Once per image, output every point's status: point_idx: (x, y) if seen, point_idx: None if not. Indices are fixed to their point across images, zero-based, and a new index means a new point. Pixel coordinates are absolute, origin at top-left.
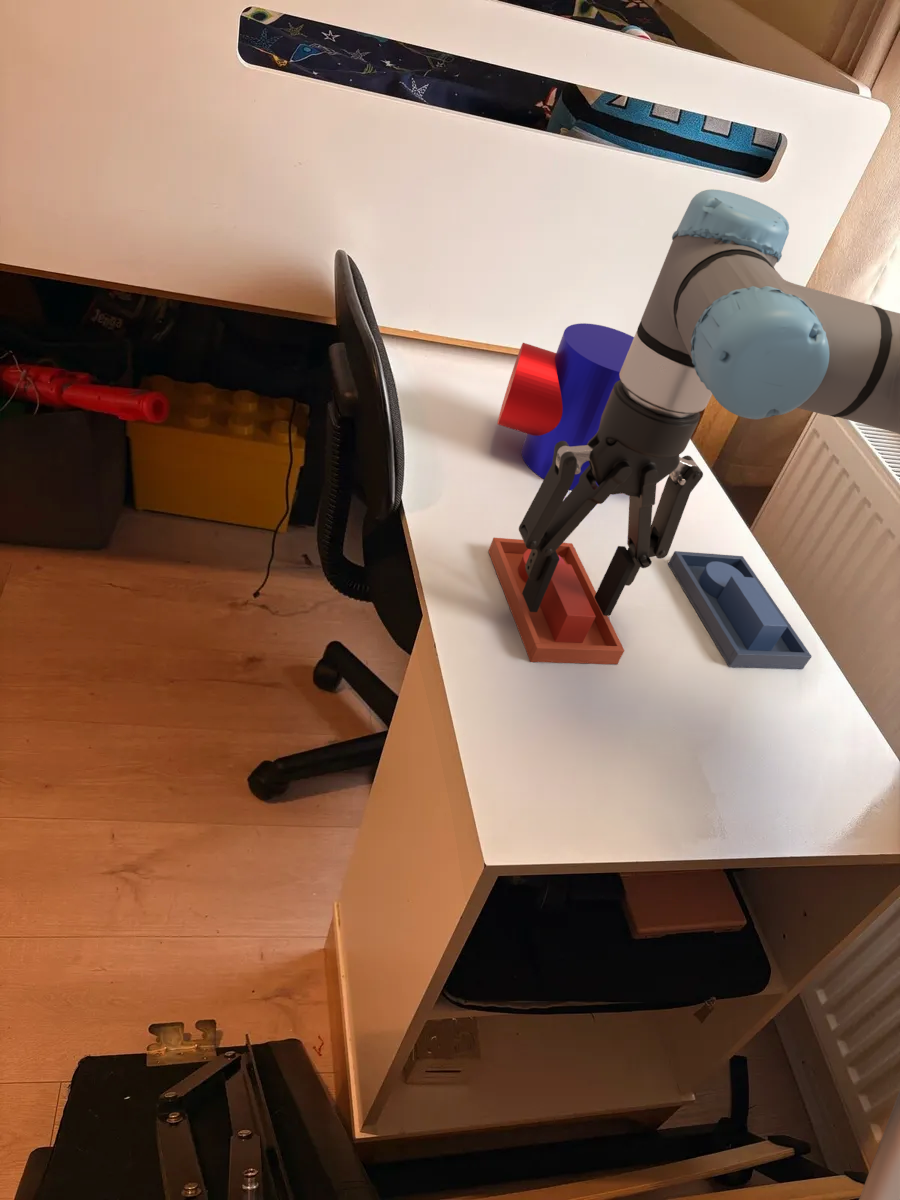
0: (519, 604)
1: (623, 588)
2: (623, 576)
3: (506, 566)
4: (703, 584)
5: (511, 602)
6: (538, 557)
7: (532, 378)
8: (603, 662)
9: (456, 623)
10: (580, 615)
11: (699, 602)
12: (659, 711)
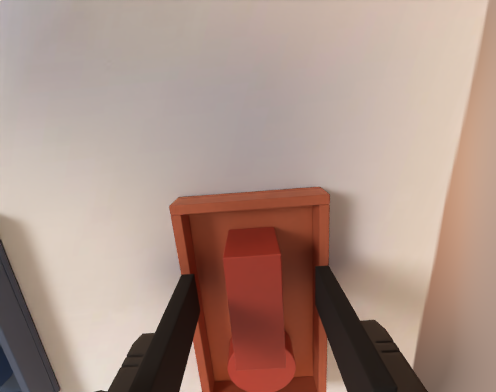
0: None
1: (159, 323)
2: (161, 353)
3: (324, 353)
4: (6, 361)
5: None
6: (415, 383)
7: None
8: (202, 196)
9: (408, 248)
10: (253, 256)
11: (16, 327)
12: (127, 103)
